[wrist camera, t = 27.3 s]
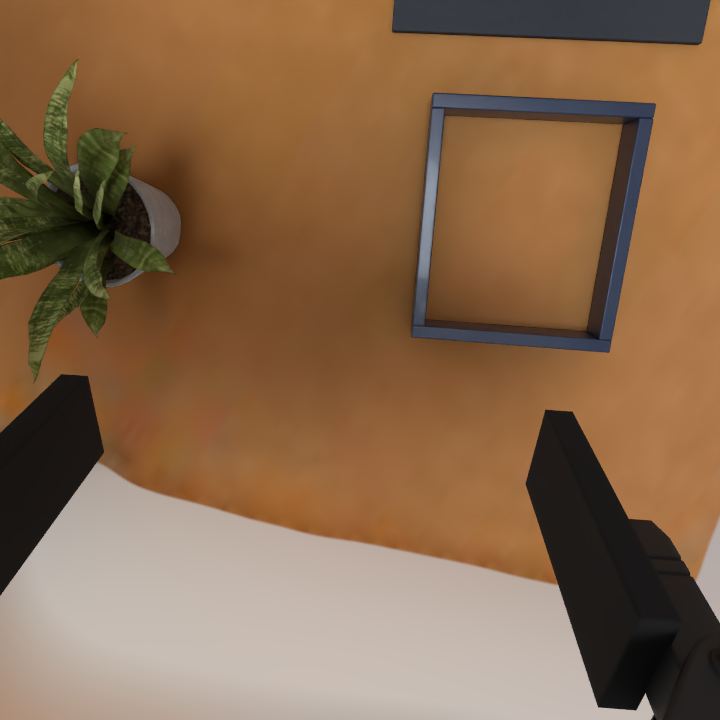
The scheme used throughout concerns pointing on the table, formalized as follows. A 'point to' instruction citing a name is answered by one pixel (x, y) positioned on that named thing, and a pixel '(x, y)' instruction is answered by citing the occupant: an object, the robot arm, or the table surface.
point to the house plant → (79, 221)
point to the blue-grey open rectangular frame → (616, 228)
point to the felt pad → (558, 19)
